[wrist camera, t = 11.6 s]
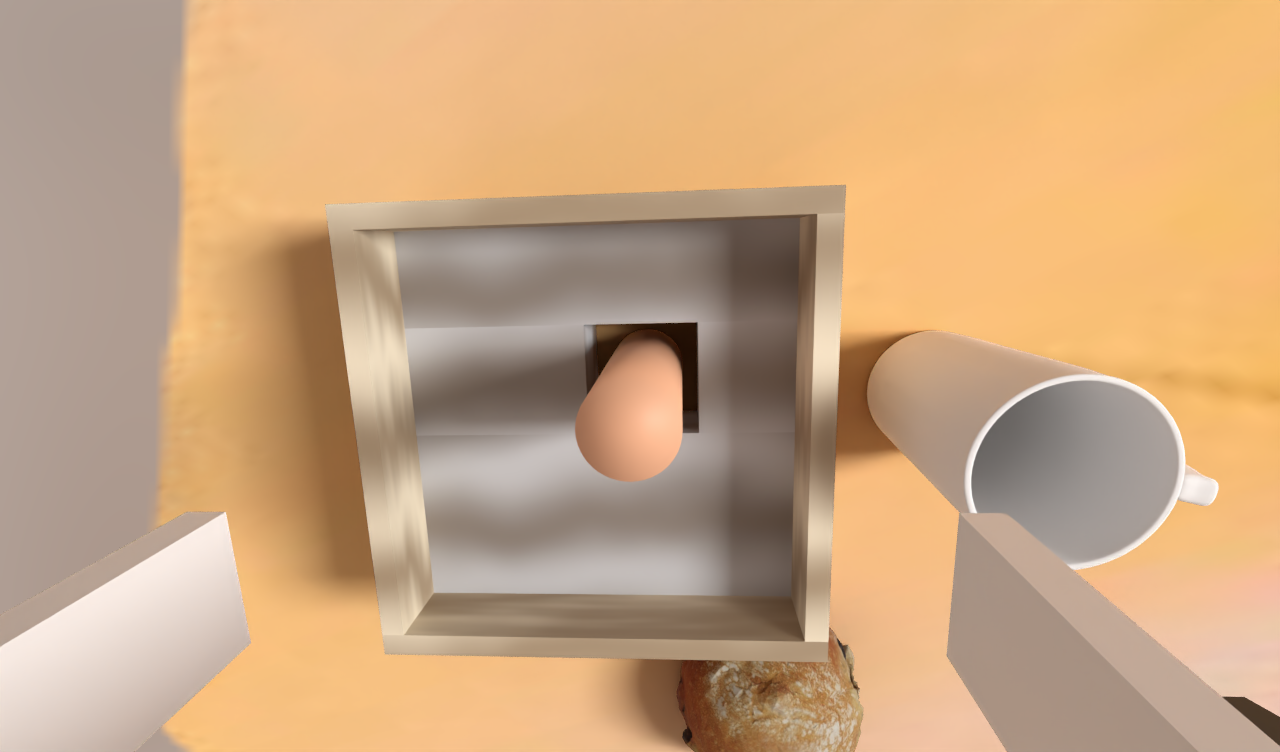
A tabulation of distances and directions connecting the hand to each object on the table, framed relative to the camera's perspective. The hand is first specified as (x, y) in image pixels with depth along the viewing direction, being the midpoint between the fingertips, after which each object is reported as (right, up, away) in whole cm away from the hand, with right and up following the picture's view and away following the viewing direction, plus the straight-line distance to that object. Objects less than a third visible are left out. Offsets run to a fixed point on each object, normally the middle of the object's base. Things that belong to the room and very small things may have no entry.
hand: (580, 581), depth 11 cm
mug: (+17, +3, +21) cm, 27 cm away
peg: (+1, +4, +21) cm, 22 cm away
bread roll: (+8, -14, +25) cm, 30 cm away
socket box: (-1, +2, +22) cm, 22 cm away
